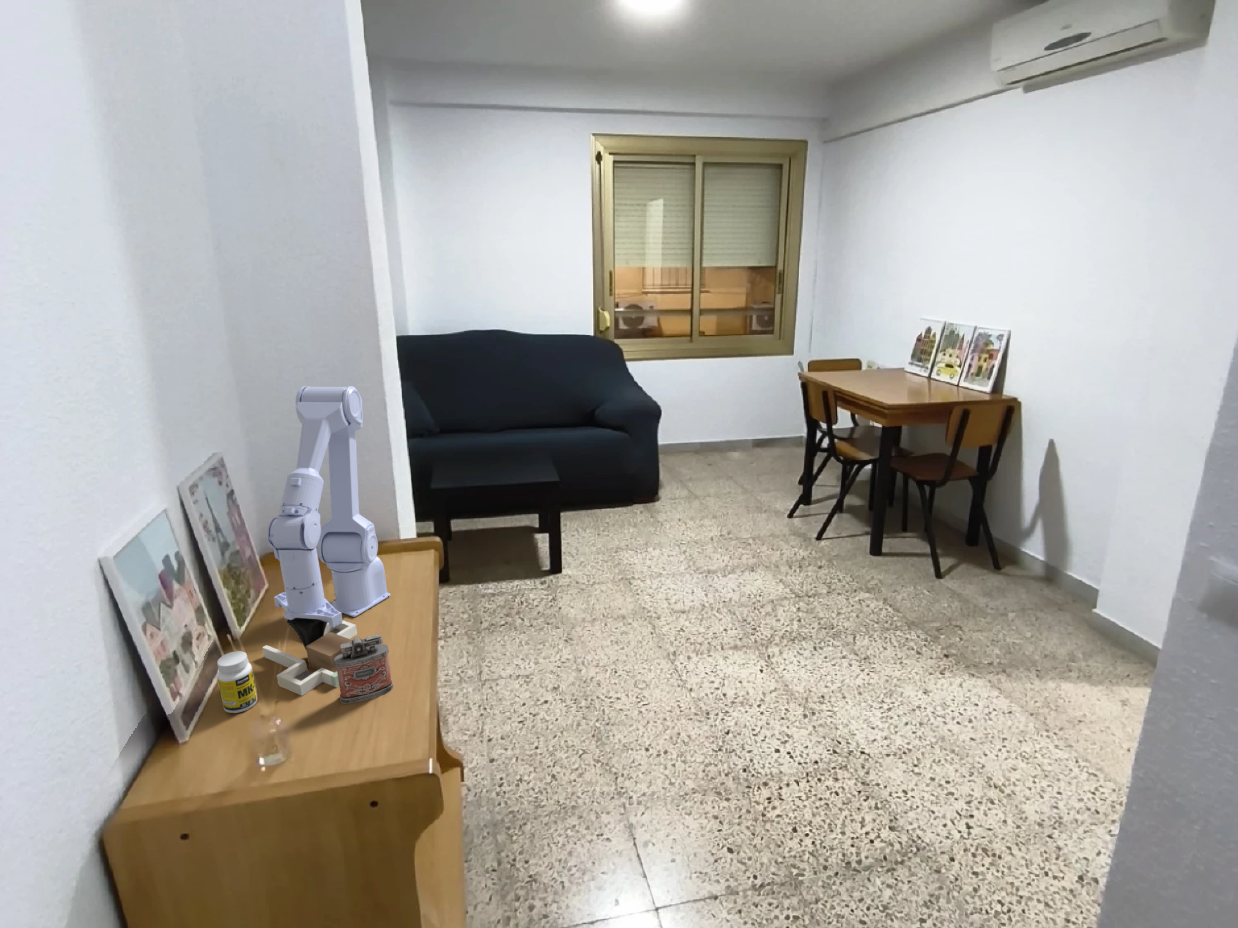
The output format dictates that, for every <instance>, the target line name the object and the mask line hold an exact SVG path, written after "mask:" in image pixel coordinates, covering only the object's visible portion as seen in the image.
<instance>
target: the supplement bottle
mask: <svg viewBox="0 0 1238 928" xmlns="http://www.w3.org/2000/svg"><path fill="white" fill-rule="evenodd" d="M217 668H218V672H217V676H216V677H217V682H218V687H219V691H220V695H221V700H222V705H223V709H224V711H225V712H227V713H229V714H238V713H242V712H245V711H248V710H249V709H251V708H253V707H254V706H255V705H256V704H257V702H256V695H255V691H254V687H256V681H255V680H256V679H255V676H254V672H253V667H252V664H251V663H250V662H249V659H248V655H247V653H246V652H245V651H242V650H237V651H230V652H228V653H225V654H224V655H222V656H221V657H219V659H217ZM256 688H257V687H256Z"/></svg>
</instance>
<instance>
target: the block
mask: <svg viewBox="0 0 1238 928" xmlns="http://www.w3.org/2000/svg"><path fill="white" fill-rule="evenodd" d="M352 640H353V639H352V638H351V639H348V638H345V637H343V636H340V635H338V634H335V633H332V632H329V633H327V634H326V635H324V636H322V637H321V638H319V639H317V640H316V641H314V642H312V643H311V644H309V645H307V646H306V649H305V651H306V650H307V651H306V654H307V659H308V666H309V667H310V668H312V669H315V670H316V671H317V670H319V669H321V668H324V669H326V670H329V671H331V672H334V673H335V672H336V671H337V668H336V666H335V663H334V659H335V657H336V656H338V655H340V654H342V652H341V645H342V644H345V643H349V642H352Z"/></svg>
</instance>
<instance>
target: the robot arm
mask: <svg viewBox="0 0 1238 928" xmlns="http://www.w3.org/2000/svg"><path fill="white" fill-rule="evenodd" d="M361 396H362V395H361V394H360V393H359V390H357V388H356V387H355V386H352V385H349V386H308V385H303V386H301V387H300V388H299V390H298V392H296V396H295V411H296V416H297V418H298V420H299V422H300V424H301V431H300V440H299V447H298V453H297V454H298V455H297V462H296V469H295V470H294V471H292V472H290V473H289V474H287V477H286V481H285V486H284V490H283V495H282V499H281V503H280V507H279V511H278V515H276V517H274V518H272V519H271V520H270V522H269V524H268V528H267V538H266V541H267V545H268V546H269V547H270V549H272V551H273V553H274V554H273V555H274V558H275V559H276V560H278V561H279V564H280V570H281V576H282V581H283V586H284V591H283V592H281V593H279V594H277V595H275V596H274V597H273V600H274V607H276V608H282V609H284V611H285V612H283V618H284V619H286V624H288V626H290V627H291V628H292V629H293V631H294V632H295V633H296V634H297V636H298V638H299V639H300V641H301V643H302V645H303V647H304V649H305V651H306V652H307V650H306V646H307V645H309V644H311V643H312V642H314V641H316V640H317V639H319V638H321V637H322V636H324V631H325V628H326V625H327V623H329V626H330V627H333V628H334V627H335V626H337V625H339V624H340V623H342V622H343V621H344V620H343V615H342V614H345V615H347V616H350V617H354V618H355V617H358V616H359V615H361V614H362V613H364V612H366V611H367V610H370V608H371V609H372V607H374V606H376V605H378V604H379V603H381V602H382V601H384V600H386V599H388V598H389V597H391V593H390V592H388V589H387V588H388V587H387V580H386V579H387V578H386V572H385V567H384V566H385V565H384V563H383V561H382V560H381V558H380V557H378V555H377V554H378V551H379V548H378V547H379V542H378V538H377V534H376V528H375V527H376V526H375V524H374V523H373V522H371V521H370V520H368V519H367V518H365V517H364V516H363V515H361V513H360V505H359V503H360V499H359V481H358V480H359V479H358V478H359V477H358V475H359V474H358V454H357V452H358V451H357V431H359V430H361V429H363V427H364V425H363V422H364V415H363V414H364V412H363V409H364V408H363V399H362V397H361ZM327 448H328V464H329V465H328V466H329V467H328V469H329V472H328V473H329V487H330V488H329V491H330V509H331V512H330V513H331V518H329V519H328V520H326V521H325V522H324V523H323V524H322V525H321V517H322V516H321V514H320V512H319V509H320V503H321V500H322V499H321V497H322V493H323V488H324V485H325V481H324V479H323V478H322V476H321V475H320V471H321V467H322V464H323V462H324V461H323V460H324V458H325V454H326V452H327ZM319 560H320V561H321V563H323V564H326V568H327V569H330V570H331V571H330V572H331V577H332V584H333V585H332V586H333V590H334V596H335V597H334V598H335V600H333V601H331V602H329V601H328V599H327V598H325V592H324V586H323V580H322V575H321V569H320V562H319ZM388 596H389V597H388Z"/></svg>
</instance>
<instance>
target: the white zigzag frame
mask: <svg viewBox="0 0 1238 928" xmlns="http://www.w3.org/2000/svg"><path fill="white" fill-rule="evenodd" d="M329 632H332V633H335V634H338V635H340V636H343V637H345V638H348V639H351V640H352V638H354V637H355V636H357V635H358V630H357V624H355V623H351V622H348V621H346V620H343V622H342V623H340V624H339V625H337V626H335V627H334V628H333V627H330V626H329V623H327V625H326V628H325V631H324V635H326V634H327V633H329ZM262 653H263V657H264V658H265V659H268V660H270V661H272V662H275V663H277V664H279V665H282V666H284V667H287V668H286V669H285V670H283V671H281V672H280V673H278V674H276V678H277V682H278V686H279V687H281V688H284V689H286V690H288V691H291V692H292V693H295V694H297V695H299V696H301V697H302V696H304V695H305V694H307V693H308V692H310V691H311V690H313V689H314V688H317V687H318V686H319V685H321V684H322V683H325V684H327V685H329V686H332V687H334V688H338V687H340V686H339V680H338V674H337V671H336V672H335V673H334V672H331V671H329V670H326V669H324V668H321V669H319V670H317V669H316V671H314V672H311V671H309V670H308V667H307V663H306V662H307V661H306V660H304V659H302V658H299V657H297V656H294V655H292V654H289V653H287V652H285V651H282V650H280V649H277V648H275V647H273V646H270V645H267V644H266V645H264V646H262Z"/></svg>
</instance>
